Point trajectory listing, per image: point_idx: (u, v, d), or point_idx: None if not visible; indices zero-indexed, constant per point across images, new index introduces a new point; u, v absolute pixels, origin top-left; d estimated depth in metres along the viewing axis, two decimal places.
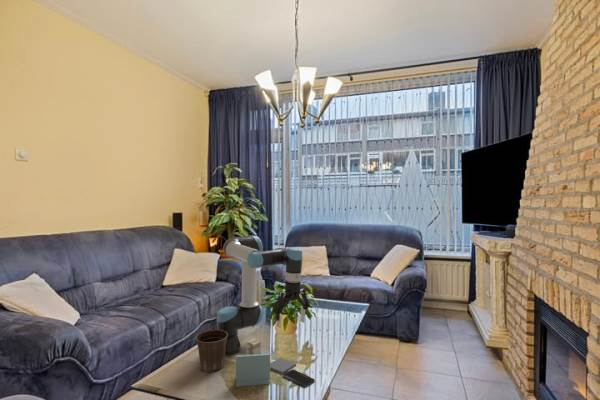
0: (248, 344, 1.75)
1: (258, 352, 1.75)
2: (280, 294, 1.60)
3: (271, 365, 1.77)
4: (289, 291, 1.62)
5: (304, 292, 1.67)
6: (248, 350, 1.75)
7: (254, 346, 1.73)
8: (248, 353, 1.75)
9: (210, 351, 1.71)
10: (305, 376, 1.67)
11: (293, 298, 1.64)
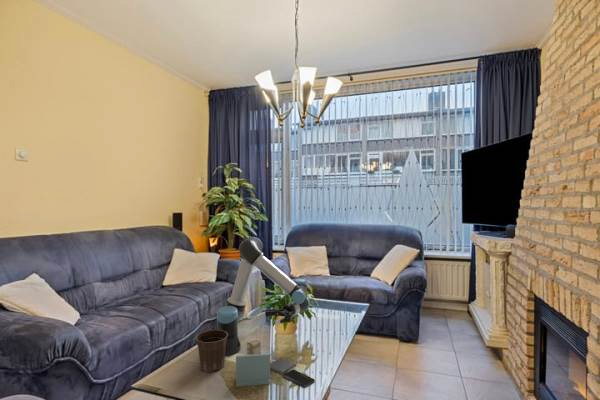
0: (248, 344, 1.75)
1: (258, 352, 1.75)
2: (293, 315, 1.92)
3: (271, 365, 1.77)
4: None
5: None
6: (248, 350, 1.75)
7: (254, 346, 1.73)
8: (248, 353, 1.75)
9: (210, 351, 1.71)
10: (305, 376, 1.67)
11: None
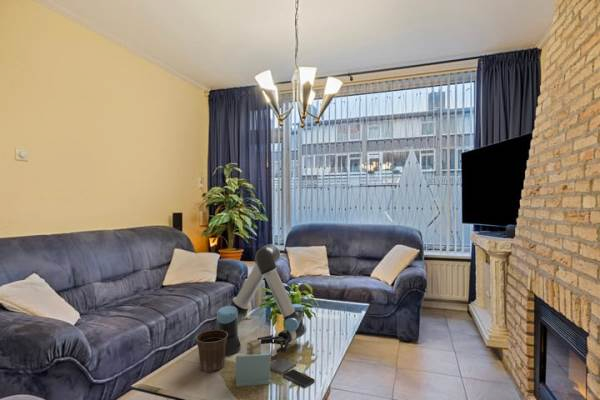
0: (248, 344, 1.75)
1: (258, 352, 1.75)
2: (290, 343, 1.88)
3: (271, 365, 1.77)
4: None
5: None
6: (248, 350, 1.75)
7: (254, 346, 1.73)
8: (248, 353, 1.75)
9: (210, 351, 1.71)
10: (305, 376, 1.67)
11: None
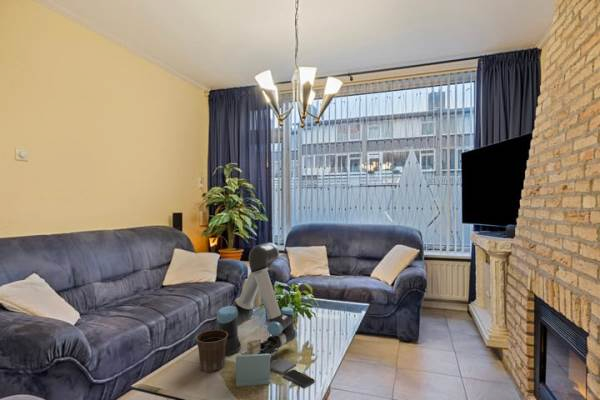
0: (248, 344, 1.75)
1: None
2: (276, 349, 1.81)
3: (271, 365, 1.77)
4: None
5: None
6: (248, 350, 1.75)
7: (254, 346, 1.73)
8: (248, 353, 1.75)
9: (210, 351, 1.71)
10: (305, 376, 1.67)
11: None
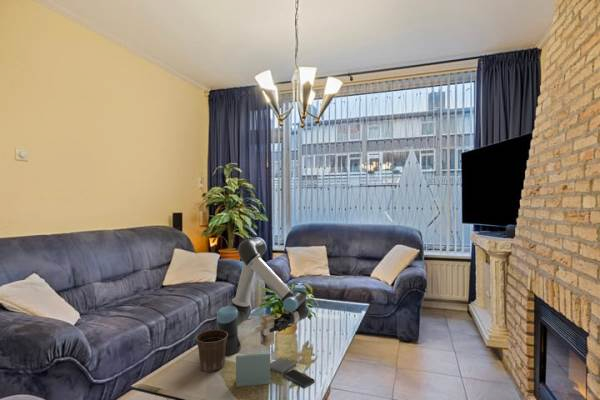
0: (262, 319, 1.75)
1: None
2: (290, 324, 1.81)
3: (271, 365, 1.77)
4: None
5: None
6: (262, 325, 1.75)
7: (268, 320, 1.73)
8: (262, 328, 1.75)
9: (210, 351, 1.71)
10: (305, 376, 1.67)
11: None
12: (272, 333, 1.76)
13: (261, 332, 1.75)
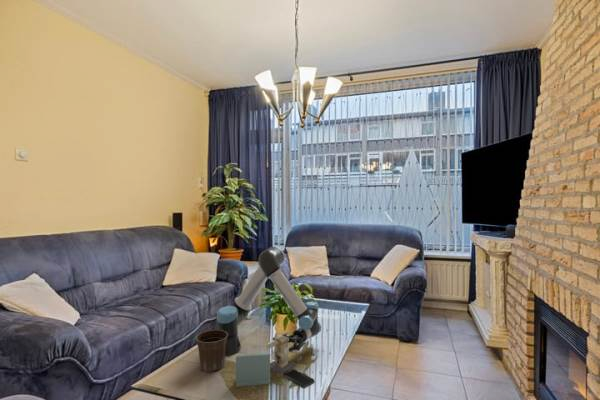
0: (276, 340, 1.77)
1: None
2: (304, 342, 1.83)
3: (271, 365, 1.77)
4: None
5: None
6: (276, 346, 1.77)
7: (282, 342, 1.75)
8: (276, 349, 1.77)
9: (210, 351, 1.71)
10: (305, 376, 1.67)
11: None
12: (286, 354, 1.78)
13: (275, 353, 1.77)
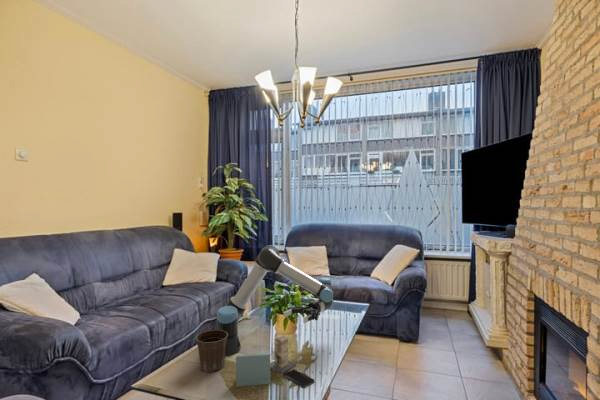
0: (276, 340, 1.77)
1: (286, 348, 1.77)
2: (319, 313, 1.94)
3: (271, 365, 1.77)
4: None
5: None
6: (276, 346, 1.77)
7: (282, 342, 1.75)
8: (276, 349, 1.77)
9: (210, 351, 1.71)
10: (305, 376, 1.67)
11: None
12: (286, 354, 1.78)
13: (275, 353, 1.77)
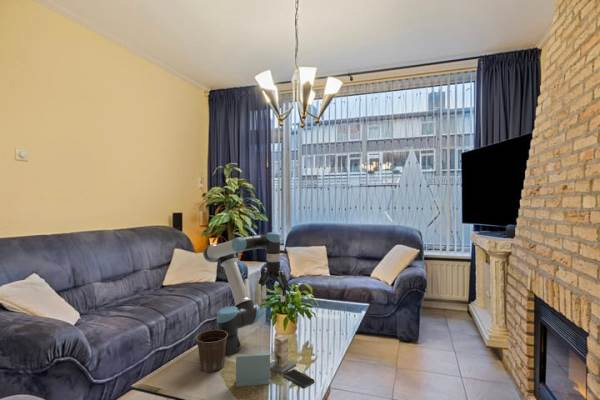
0: (276, 340, 1.77)
1: (286, 348, 1.77)
2: None
3: (271, 365, 1.77)
4: (268, 269, 1.89)
5: (280, 274, 1.84)
6: (276, 346, 1.77)
7: (282, 342, 1.75)
8: (276, 349, 1.77)
9: (210, 351, 1.71)
10: (305, 376, 1.67)
11: (272, 276, 1.88)
12: (286, 354, 1.78)
13: (275, 353, 1.77)
